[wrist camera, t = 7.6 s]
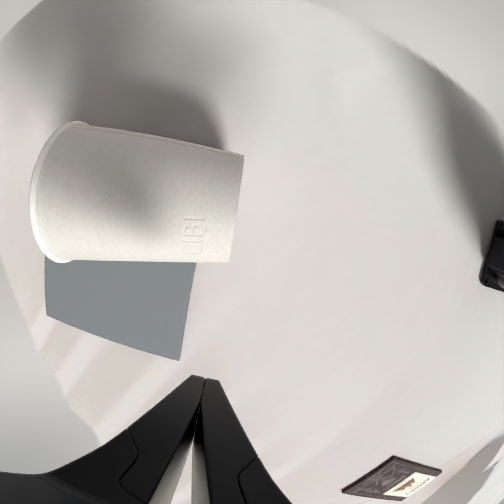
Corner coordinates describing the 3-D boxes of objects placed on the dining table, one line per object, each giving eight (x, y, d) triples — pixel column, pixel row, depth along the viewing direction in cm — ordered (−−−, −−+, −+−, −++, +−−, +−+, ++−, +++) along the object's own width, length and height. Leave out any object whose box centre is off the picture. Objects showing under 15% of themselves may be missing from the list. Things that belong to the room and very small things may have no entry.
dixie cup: (231, 230, 21) (104, 215, 20) (249, 116, 16) (97, 107, 15) (221, 323, 14) (51, 291, 13) (246, 161, 9) (13, 150, 8)
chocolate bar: (394, 458, 25) (442, 472, 28) (392, 453, 26) (440, 468, 29) (342, 493, 26) (401, 500, 29) (340, 488, 27) (400, 497, 30)
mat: (220, 150, 18) (220, 149, 18) (180, 357, 21) (178, 360, 21) (65, 129, 17) (62, 128, 17) (49, 313, 21) (46, 315, 20)
